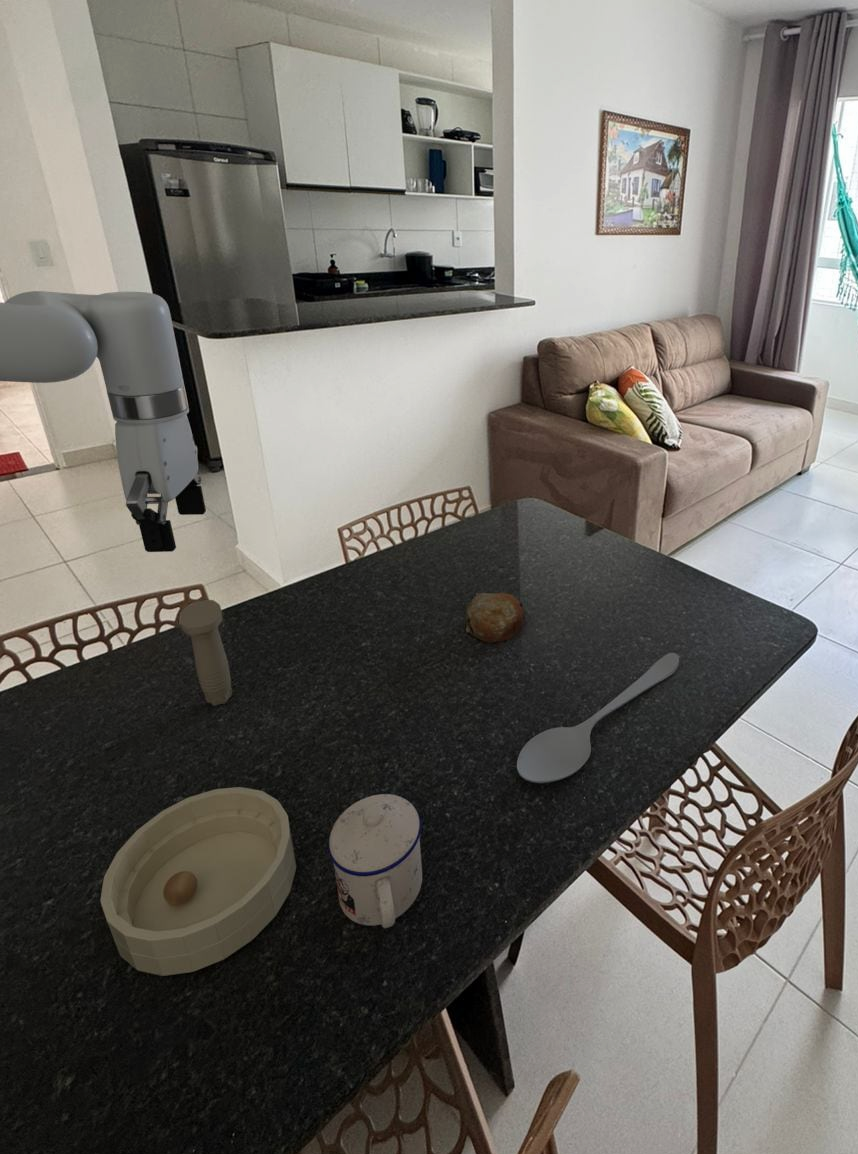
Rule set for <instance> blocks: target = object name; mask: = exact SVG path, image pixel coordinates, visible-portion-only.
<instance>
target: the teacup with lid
mask: <svg viewBox="0 0 858 1154" xmlns="http://www.w3.org/2000/svg"><path fill="white" fill-rule="evenodd" d="M421 830H422V822H421V818H420V815H419V812H418V811H417V808H415V807H414V805H413V804H412V803H411V802H410V801H409V800H407V799H405V798H404V797H401V796H399V795H395V794H390V793H389V794H388V793H382V794H375V795H370V796H367V797H364V798H362V799H360V800H358V801H356V802H355V803H353V804H352V805H350V806H349V807H348V808H346V809H345V810H344V811H343V812H342V813H341V814H340V815H339V816H338V818H337V820H336V821H335V823H334V824H333V826H332V829H331V831H330V834H329V837H328V845H327V847H328V854H329V857H330V859H331V861H332V863H333V869H334V875H335V881H336V882H335V883H336V887H337V888H336V889H337V895H338V901H339V902H338V903H339V906H340V908H341V910H342V912H343V913H344V915H345V916H346V917H347V918H348V919H349V920H351V921H352V922H354V923H356V924H358V925H363V926H369V927H370V926H372V927H373V926H380V925H381V927H382V928H383V929H389V928H390V927H393V926H394V925H395V923H396V919H397V918H399V917H400V916H402V915H404V913H405V912H407V911H408V910H409V909H410V908H411V906H412V905H413V904H414V902H415V901H416V900H417V898H418V895H419V894H420V891H421V888H422V884H423V866H422V854H421V853H422V852H421V841H420V840H421V839H420V836H421Z"/></svg>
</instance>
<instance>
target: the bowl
mask: <svg viewBox="0 0 858 1154" xmlns="http://www.w3.org/2000/svg"><path fill="white" fill-rule="evenodd" d="M290 825H291V824H290V819H289V815H288V813H287V812H286V811H285V809H284V807H283V806H282V804H281V803H280V801H279V800H278V799H276V798H275V797H273V796H272V795H270V794H268V793H266V792H265V791H263V790H260V789H253V788H249V787H243V786H237V787H235V786H234V787H225V788H215V789H211V790H208V791H205V792H202V793H199V794H196V795H195V794H194V795H192V796H189V797H186V798H184V799H182V800H180V801H179V802H176V803H174V804H173V805H171V806H168V807H167V808H165V809H163V810H162V811H160V812H159V813H157V814H156V815H155V816H154V817H152V818H150V820H148V821H147V822H146V823H144V824H143V825H142V826H141V827H139V828H138V829H136V831H135V832H134V833H133V834H131V836H130V837H129V839H128V840H127V841H126V842H125V843H124V844H123V845H122V846H121V848H120V849H119V850H118V851H117V852H116V854H115V856H114V858H113V859H112V861H111V863H110V864H109V867H108V869H107V870H106V872H105V874H104V876H103V880H102V888H101V894H100V899H99V901H100V904H101V905H100V906H101V908H102V911H103V914H104V917H105V919H106V923H107V925H108V928H109V930H110V933H111V935H112V938H113V940H114V943H115V946H116V948H117V951H118V953H119V956H120V958H122V959H123V960H124V961H126V962H127V963H128V964H129V965H131V966H132V968H134V969H135V970H136V971H138V972H143V973H148V974H153V975H156V976H162V977H166V976H174V975H181V974H187V973H188V974H189V973H193V972H197V971H200V970H201V969H204V968H206V967H210V966H211V965H213V964H216V963H219V962H221V961H224V960H225V959H227V958H229V957H230V956H231V955H233V954H234V953H236V952H237V951H238V950H240V949H241V948H243V947H244V946H246V945H247V944H249V943H251V942H252V941H253V940H254V939H256V937H257V936H258V935H259V934H260V933H262V931H263V930H264V929H265V928H266V927H267V926H268V925H269V923H270V922H272V920H274V918H276V916H277V915H278V913H279V911H280V909H281V908H282V906H283V905H284V903H285V902H286V900H287V898H288V897H289V895H290V893H291V890H292V886H293V882H294V879H295V874H296V870H297V862H296V853H295V845H294V840H293V835H292V830H291V826H290ZM182 871H188V872H191V873H193V874H194V875H195V876H196V878H197V889H196V891H195V893H194V895H193V896H192V897H191V898H190V899H189V900H188V901H187V902H185V903H183V904H180V905H171V904H169V903H168V902H166V900H165V899H164V896H163V890H164V886H165V884H166V883H167V881H168V880H169V879H170V878H171V877H172V876H173V875H175V874H176V873H179V872H182Z"/></svg>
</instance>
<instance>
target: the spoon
mask: <svg viewBox="0 0 858 1154" xmlns="http://www.w3.org/2000/svg"><path fill="white" fill-rule="evenodd" d="M679 664H680V657H679V655H678V653H676V652H669V653H667V654H664V656H662V657H660V658H659V659H658V660H657V661H655V662H654V663H653V664H652V665H651V666H650V667H649V668H648V670H646V671H645V672H644V673H643V674H642V675H641V676H640V677H639V678H638V679H637V680H635V681H634V682H633V683H632V684H631V685H629V686H627V688H626V689H624V690H623V691H622V692H621V693H619V694H618V695H617V696H616V697H615V698H614V699H612V700H610V702H609V703H607V704H606V705H605V706H603V707H602V708H601V709H599V710H598V711H597V712H596V713H594V714H593V715H592V716H590V717H589V718H587V719H586V720H584V721H583V722H581V723H579V724H576V725H574V726H567V727H566V726H562V727H560V726H559V727H553V728H549V729H547V730H545V731H542V732H539V733H538V734H536V735H535V736H533V737H532V738H530V739H529V740H528V741H527V742H526V743H525V744H524V746H523V747H522V749H521V750H520V752H519V754H518V757H517V759H516V769H517V770H516V771H517V773H518V774H519V776H520V777H521V778H522V779H523V780H525V781H527V782H530V783H534V784H546V783H547V784H548V783H554V782H558V781H561V780H564V779H566V778H569V777H570V776H572V775H574V774H575V773H577V772H578V771H579V770H580V769H582V767H583V766H584V765H585V764H586V763H587V762H588V760H589V758H590V756H591V751H592V745H591V732H592V731H593V728H594V727H595V725H596V724H597V723H598V722H600V720H601V719H603V718H605V717H606V716H608V715H610V714H611V713H613V712H614V711H616V710H617V709H619V708H620V707H622V706H624V705H626V704H627V703H629V702H630V701H632V700H633V699H635V698H636V697H637V696H639V695H641V694H643V693H644V692H645V691H648V690H649V689H650V688H652V687H653V686H656V685H657V684H659V683H661V682H662V681H664V680H666V679H667V678H669V677H671V676H672V675H673V674H674V673H675V672H676V671H677V670H678V668H679Z"/></svg>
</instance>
